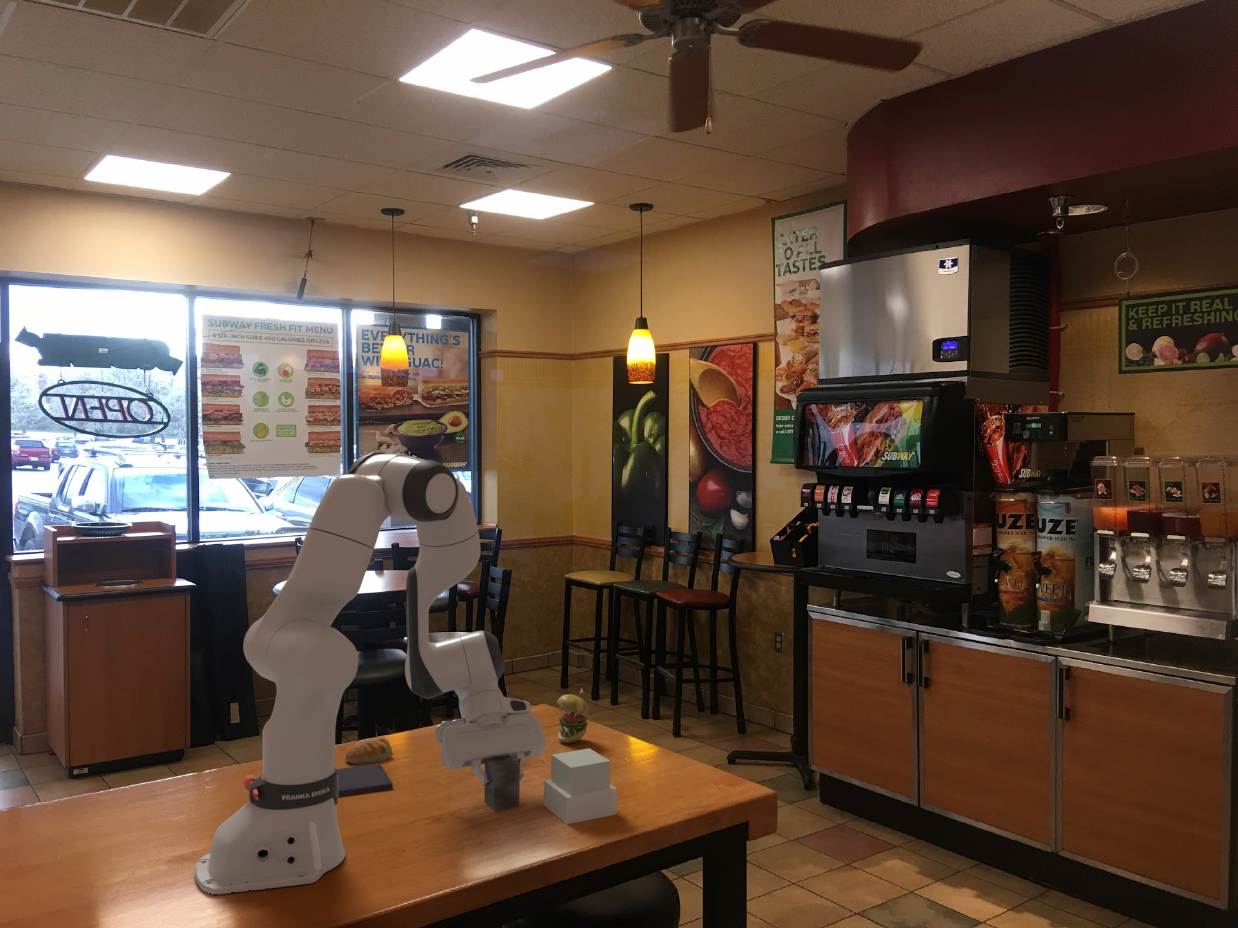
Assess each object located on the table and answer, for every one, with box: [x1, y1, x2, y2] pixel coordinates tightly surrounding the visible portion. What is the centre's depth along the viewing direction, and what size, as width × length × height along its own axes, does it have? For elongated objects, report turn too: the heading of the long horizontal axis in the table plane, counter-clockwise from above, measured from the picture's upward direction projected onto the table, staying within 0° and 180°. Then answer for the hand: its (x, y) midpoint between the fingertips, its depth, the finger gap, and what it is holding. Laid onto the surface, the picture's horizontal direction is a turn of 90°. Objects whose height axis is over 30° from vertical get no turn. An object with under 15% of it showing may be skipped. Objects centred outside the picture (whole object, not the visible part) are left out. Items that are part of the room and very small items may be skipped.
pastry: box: [345, 737, 393, 765], centre depth 207 cm, size 9×7×4 cm
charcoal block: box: [484, 756, 521, 812], centre depth 182 cm, size 5×5×8 cm
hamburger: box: [556, 687, 590, 744], centre depth 220 cm, size 8×7×12 cm
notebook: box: [335, 763, 394, 797], centre depth 191 cm, size 13×2×21 cm
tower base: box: [543, 778, 618, 825], centre depth 180 cm, size 10×10×5 cm
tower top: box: [550, 748, 611, 795], centre depth 180 cm, size 8×8×5 cm
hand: (503, 781), depth 182 cm, fingers closed on charcoal block, 5 cm apart
